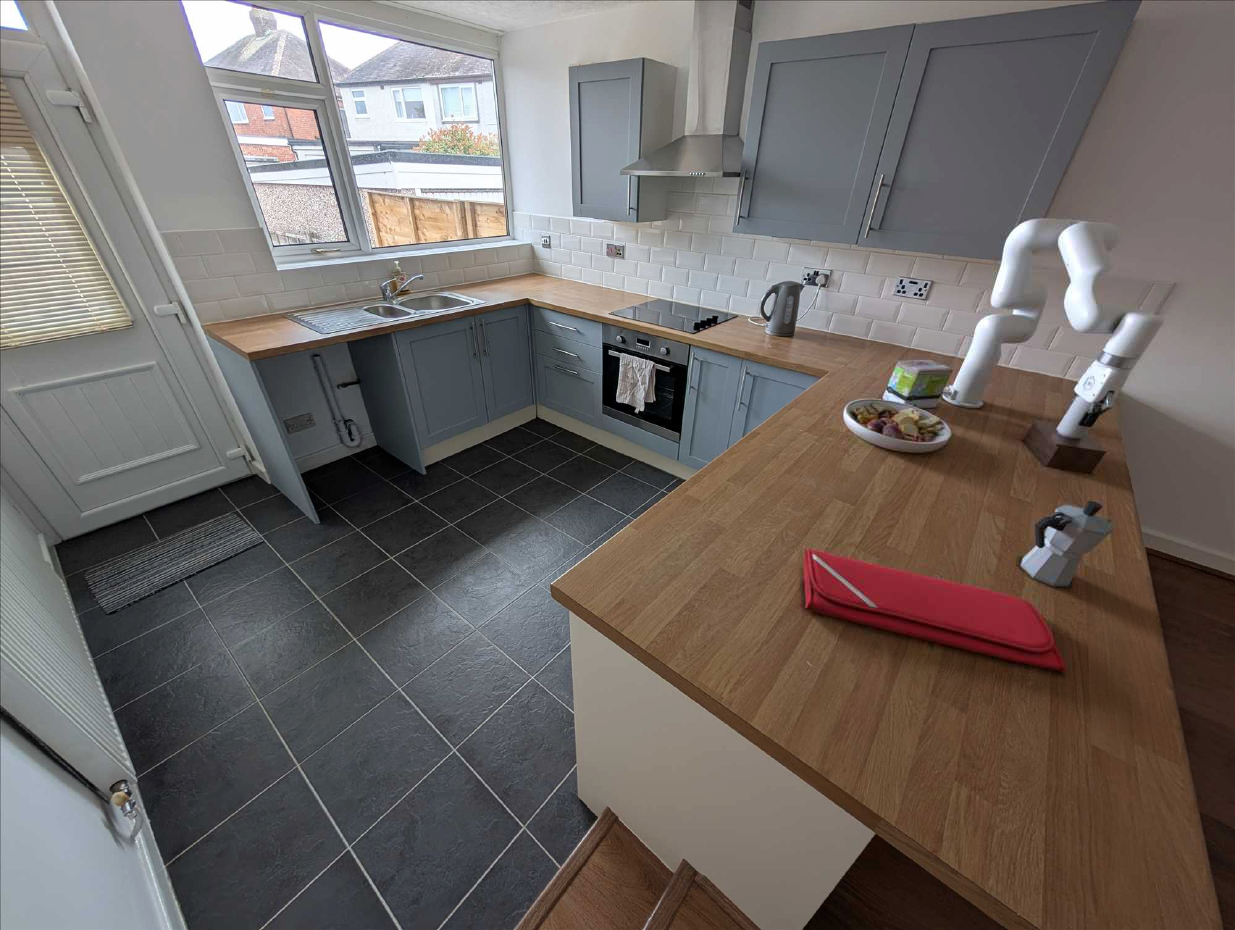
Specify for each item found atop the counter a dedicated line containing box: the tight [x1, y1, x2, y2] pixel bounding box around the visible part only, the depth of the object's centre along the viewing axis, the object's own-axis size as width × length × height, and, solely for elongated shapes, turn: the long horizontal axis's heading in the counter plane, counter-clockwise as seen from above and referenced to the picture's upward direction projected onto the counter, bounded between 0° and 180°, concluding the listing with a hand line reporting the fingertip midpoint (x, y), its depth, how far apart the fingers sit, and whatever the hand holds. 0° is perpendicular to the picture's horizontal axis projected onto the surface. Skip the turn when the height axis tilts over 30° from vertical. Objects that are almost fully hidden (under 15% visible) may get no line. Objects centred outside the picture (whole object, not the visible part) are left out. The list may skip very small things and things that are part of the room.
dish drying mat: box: [803, 547, 1067, 672], centre depth 88 cm, size 16×41×4 cm, turn 74°
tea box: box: [882, 359, 954, 409], centre depth 166 cm, size 15×10×15 cm, turn 105°
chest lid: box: [1030, 419, 1107, 455], centre depth 139 cm, size 12×16×1 cm
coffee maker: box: [1020, 500, 1115, 588], centre depth 95 cm, size 15×9×18 cm, turn 92°
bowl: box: [843, 398, 952, 454], centre depth 148 cm, size 30×30×8 cm
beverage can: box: [1057, 396, 1102, 439], centre depth 135 cm, size 6×6×12 cm
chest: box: [1022, 423, 1106, 475], centre depth 141 cm, size 11×16×7 cm
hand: (1078, 419), depth 136 cm, fingers closed on beverage can, 6 cm apart
